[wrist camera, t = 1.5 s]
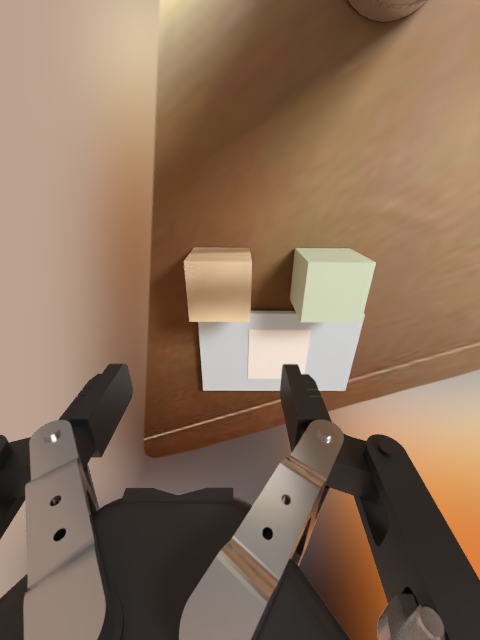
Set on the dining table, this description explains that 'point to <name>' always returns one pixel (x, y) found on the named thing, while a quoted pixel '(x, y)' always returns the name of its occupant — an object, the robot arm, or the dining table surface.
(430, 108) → the dining table surface
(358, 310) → the sage block
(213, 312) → the maple block
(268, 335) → the white rectangular board
